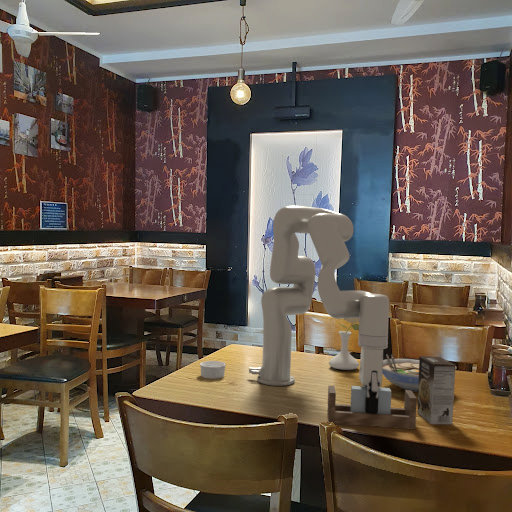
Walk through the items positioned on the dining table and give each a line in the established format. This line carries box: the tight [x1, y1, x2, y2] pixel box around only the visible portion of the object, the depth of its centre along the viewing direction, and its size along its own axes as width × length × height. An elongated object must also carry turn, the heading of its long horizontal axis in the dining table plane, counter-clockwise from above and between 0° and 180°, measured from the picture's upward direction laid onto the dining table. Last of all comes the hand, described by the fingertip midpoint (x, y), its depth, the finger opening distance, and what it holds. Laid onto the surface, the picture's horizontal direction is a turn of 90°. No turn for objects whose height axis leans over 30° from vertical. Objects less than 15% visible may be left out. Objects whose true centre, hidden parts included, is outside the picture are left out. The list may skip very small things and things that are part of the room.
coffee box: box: [416, 355, 456, 425], centre depth 137 cm, size 9×6×16 cm
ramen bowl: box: [382, 354, 419, 393], centre depth 166 cm, size 25×23×8 cm
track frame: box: [327, 384, 418, 430], centre depth 133 cm, size 22×7×8 cm, turn 84°
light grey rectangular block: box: [350, 385, 392, 414], centre depth 133 cm, size 10×3×8 cm, turn 84°
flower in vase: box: [328, 318, 360, 371], centre depth 190 cm, size 13×11×25 cm
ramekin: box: [199, 360, 227, 380], centre depth 174 cm, size 9×9×4 cm
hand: (370, 409), depth 133 cm, fingers open, 3 cm apart
